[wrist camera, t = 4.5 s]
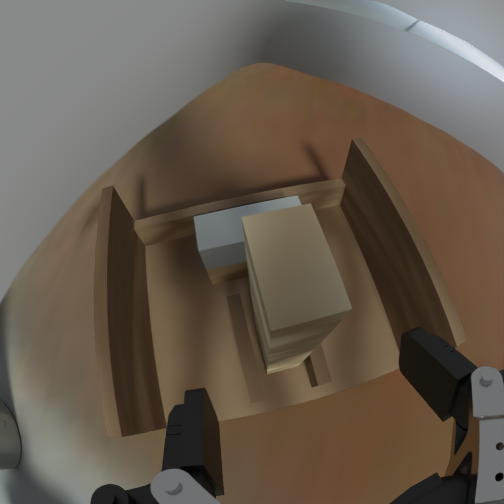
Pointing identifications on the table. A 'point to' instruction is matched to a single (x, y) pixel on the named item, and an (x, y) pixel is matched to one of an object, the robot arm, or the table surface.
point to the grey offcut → (230, 231)
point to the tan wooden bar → (292, 284)
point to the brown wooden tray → (241, 309)
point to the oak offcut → (228, 273)
